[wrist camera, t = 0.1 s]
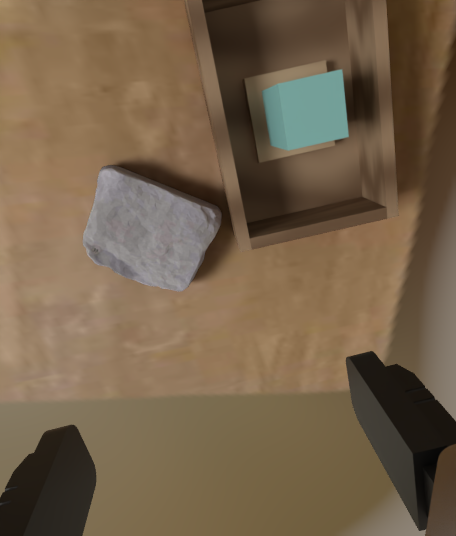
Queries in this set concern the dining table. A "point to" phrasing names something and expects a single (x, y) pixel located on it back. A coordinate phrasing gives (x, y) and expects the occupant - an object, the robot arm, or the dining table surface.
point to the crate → (255, 125)
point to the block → (306, 111)
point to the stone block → (148, 229)
